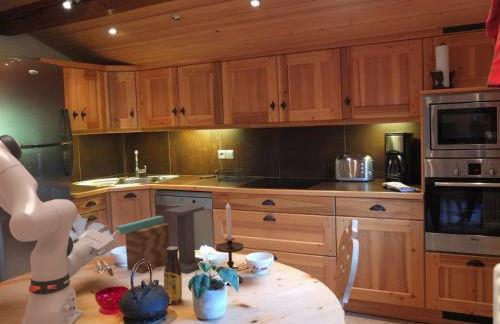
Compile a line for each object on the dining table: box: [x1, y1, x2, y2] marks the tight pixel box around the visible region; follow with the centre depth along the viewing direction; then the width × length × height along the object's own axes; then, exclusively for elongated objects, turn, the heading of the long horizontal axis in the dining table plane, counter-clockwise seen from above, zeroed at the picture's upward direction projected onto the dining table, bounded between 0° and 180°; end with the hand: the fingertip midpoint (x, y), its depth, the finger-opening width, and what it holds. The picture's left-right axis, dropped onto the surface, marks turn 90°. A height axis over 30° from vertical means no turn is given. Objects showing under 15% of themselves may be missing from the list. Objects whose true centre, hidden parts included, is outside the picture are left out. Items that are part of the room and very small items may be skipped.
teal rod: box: [115, 215, 165, 236], centre depth 200 cm, size 24×3×3 cm, turn 143°
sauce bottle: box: [163, 245, 183, 305], centre depth 163 cm, size 6×6×20 cm
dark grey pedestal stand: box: [164, 204, 205, 275], centre depth 201 cm, size 14×14×26 cm
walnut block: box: [125, 222, 170, 274], centre depth 203 cm, size 16×10×18 cm, turn 142°
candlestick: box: [215, 195, 245, 287], centre depth 180 cm, size 11×11×35 cm
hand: (113, 228), depth 187 cm, fingers open, 8 cm apart
